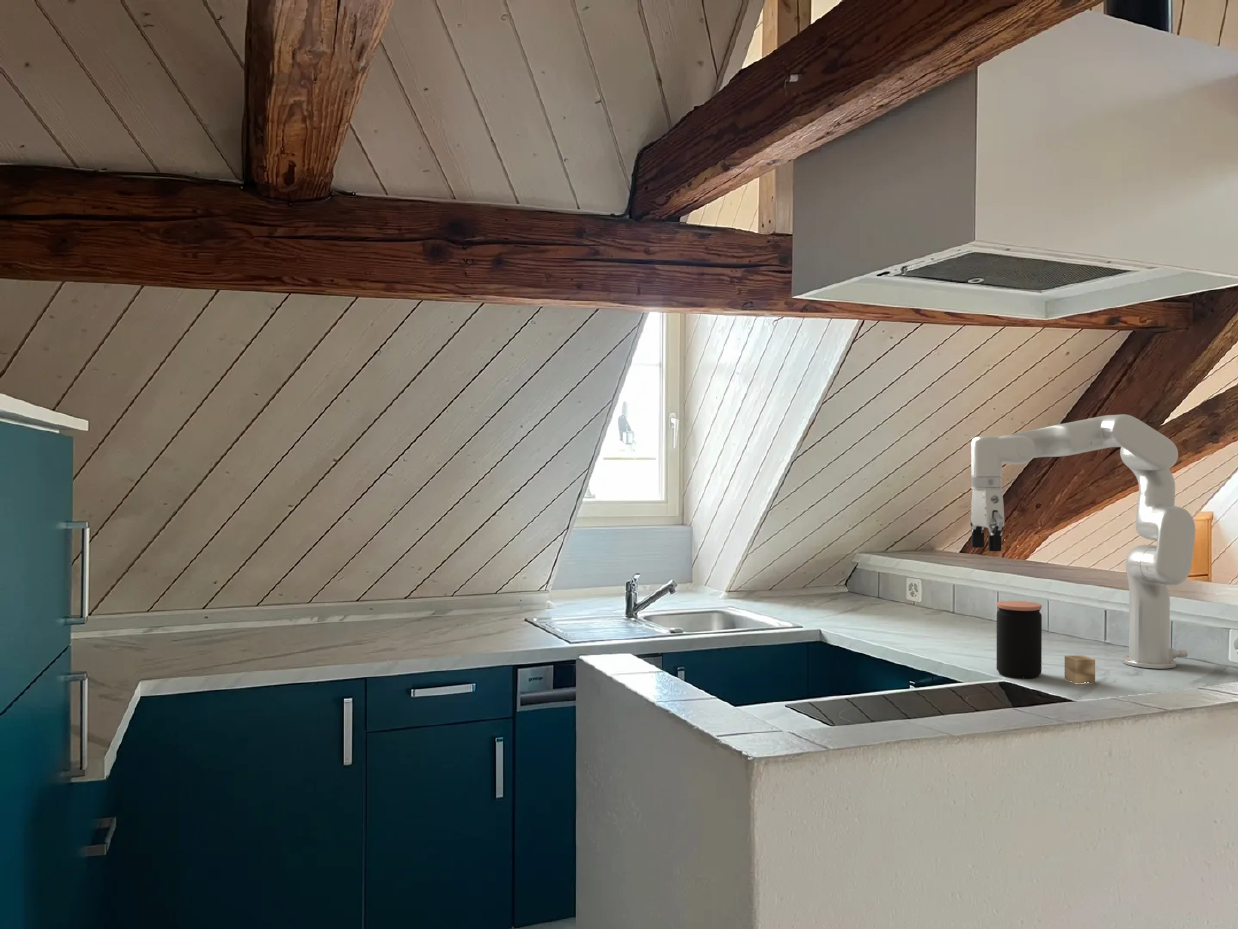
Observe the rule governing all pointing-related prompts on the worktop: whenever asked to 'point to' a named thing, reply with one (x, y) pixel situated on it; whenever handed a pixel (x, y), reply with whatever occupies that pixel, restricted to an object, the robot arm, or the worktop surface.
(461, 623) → the worktop surface
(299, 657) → the worktop surface
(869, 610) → the worktop surface
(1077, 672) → the oak block
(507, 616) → the worktop surface
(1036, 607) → the coffee jar
